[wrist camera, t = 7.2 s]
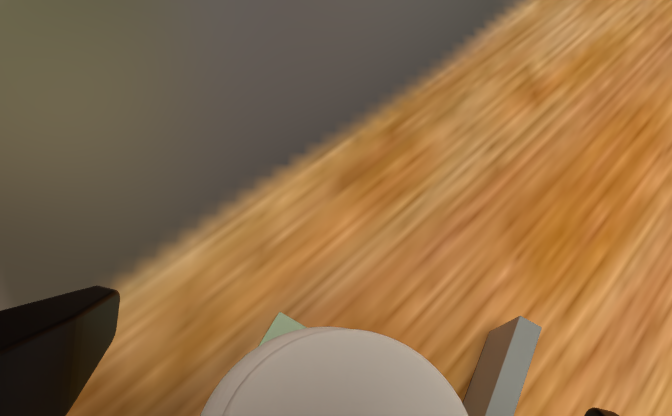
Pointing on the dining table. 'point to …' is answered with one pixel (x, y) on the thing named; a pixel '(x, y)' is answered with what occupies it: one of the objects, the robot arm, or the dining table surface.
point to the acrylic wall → (502, 369)
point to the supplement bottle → (333, 378)
